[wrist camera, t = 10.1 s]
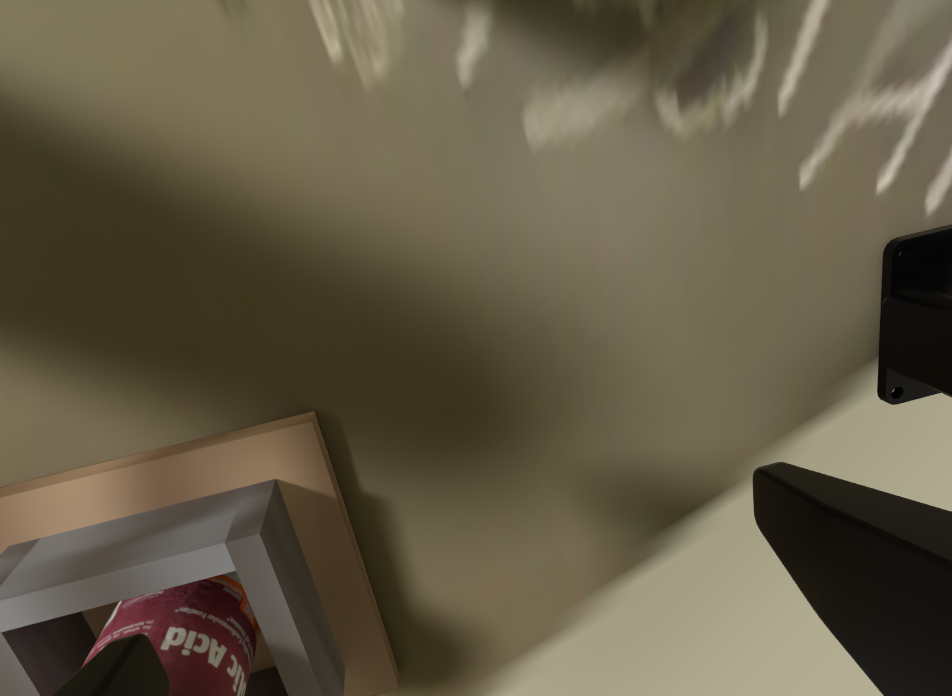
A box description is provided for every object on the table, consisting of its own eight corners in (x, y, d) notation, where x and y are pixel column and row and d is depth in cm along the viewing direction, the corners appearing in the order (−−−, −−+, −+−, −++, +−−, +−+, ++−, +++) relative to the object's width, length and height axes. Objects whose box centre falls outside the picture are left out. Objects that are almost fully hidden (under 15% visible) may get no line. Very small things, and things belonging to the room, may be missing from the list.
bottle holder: (314, 411, 20) (301, 468, 17) (398, 671, 24) (402, 761, 21) (-57, 501, 19) (-154, 582, 16) (97, 756, 24) (47, 866, 20)
